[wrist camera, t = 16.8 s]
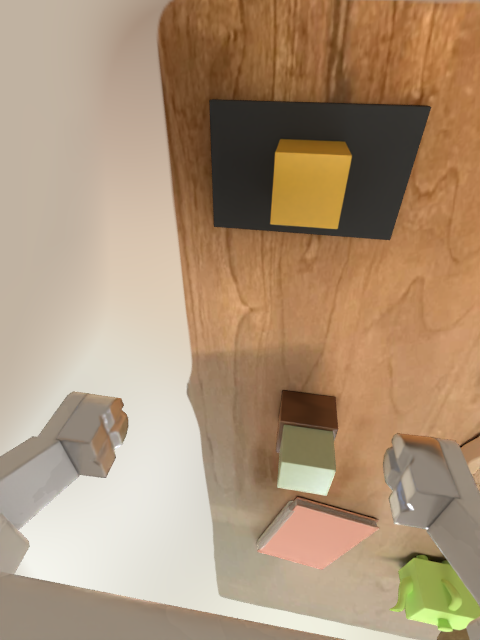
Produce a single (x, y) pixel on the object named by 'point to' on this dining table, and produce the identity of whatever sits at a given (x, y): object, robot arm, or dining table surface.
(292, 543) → the notebook
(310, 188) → the top block
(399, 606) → the teapot
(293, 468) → the middle block
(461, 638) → the bowl
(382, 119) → the mat
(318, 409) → the base block
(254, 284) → the dining table surface
